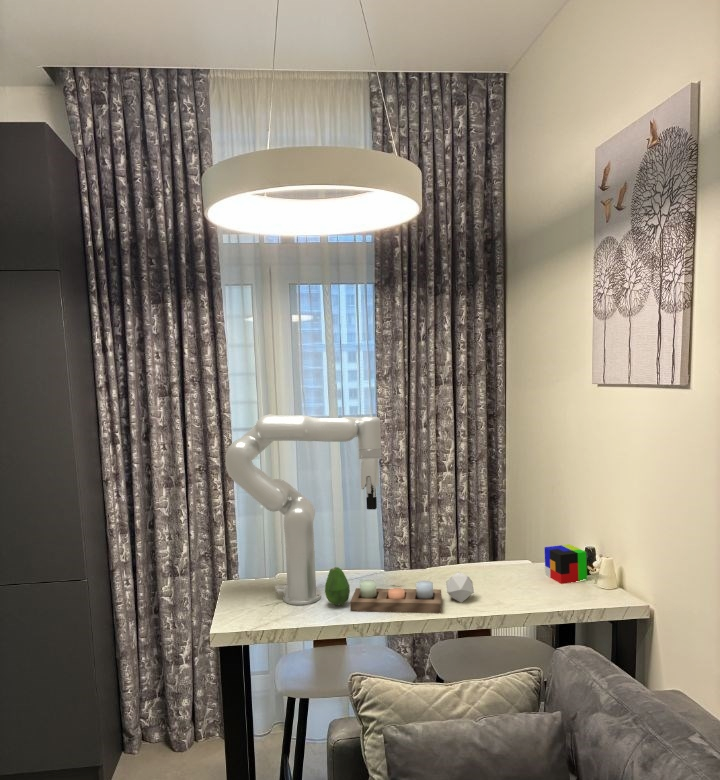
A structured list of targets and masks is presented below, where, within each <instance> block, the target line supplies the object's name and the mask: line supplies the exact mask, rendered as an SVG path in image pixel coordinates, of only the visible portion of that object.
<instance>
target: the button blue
mask: <svg viewBox="0 0 720 780" xmlns="http://www.w3.org/2000/svg"><path fill="white" fill-rule="evenodd" d="M415 586H416V588H415V589H417V597H418V598H420V599H430V598H432V597H433V589H434V583H433V582H432V581H430V580H419V581H417V582H416V584H415Z"/></svg>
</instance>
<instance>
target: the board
mask: <svg viewBox="0 0 720 780" xmlns="http://www.w3.org/2000/svg"><path fill="white" fill-rule="evenodd" d="M389 589H390V588H376V590H377V595H376V596H375V597H373V598H363V597H361V596H360V587H358V588H357V587H356V588H355V590H354V592H353V594H352V596H351V598H350V601H349V604H350V605H349V608H350V611H349V612H357V613H359V612H365V613H405V614H407V613H408V614H409V613H413V614H417V613H418V614H442V589H435V588H433V597H432V598H430V599H420V598H418V597H417V589H416V588H403V589H404V590H405V599H389V598H388V590H389Z"/></svg>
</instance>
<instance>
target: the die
mask: <svg viewBox="0 0 720 780" xmlns="http://www.w3.org/2000/svg"><path fill="white" fill-rule="evenodd" d="M445 585H446V587H445V588H446V593H447V594H448V595H449V597H451V598H452V599H453V600H456V601H457V602H459V603H462V602H464V601H465V600H467V599H468V598H469V597H470V596H471V595H472V594H474V593H475V591H474V584H473V581H472V579H471V578H470V577H469V576H468V575H467V574H464V573H462V572H461V571H458V572H456V573H455V574H453V575H451V576H450V577H449V578H448V579H447V580H446V581H445Z"/></svg>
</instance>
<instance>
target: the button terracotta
mask: <svg viewBox="0 0 720 780" xmlns="http://www.w3.org/2000/svg"><path fill="white" fill-rule="evenodd" d="M388 589H389V590H388V598H389V599H405V590H404V589H405V588H401V587H392V588H388Z"/></svg>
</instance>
